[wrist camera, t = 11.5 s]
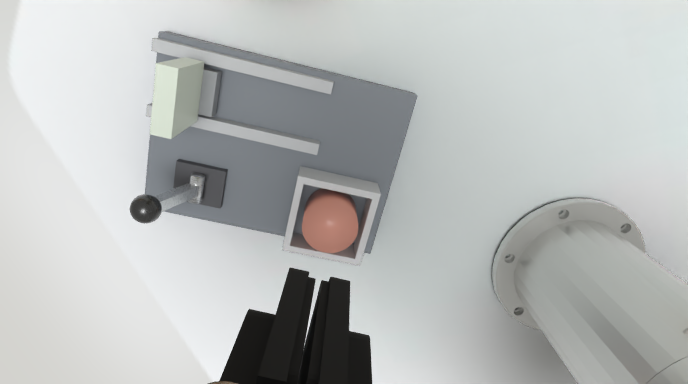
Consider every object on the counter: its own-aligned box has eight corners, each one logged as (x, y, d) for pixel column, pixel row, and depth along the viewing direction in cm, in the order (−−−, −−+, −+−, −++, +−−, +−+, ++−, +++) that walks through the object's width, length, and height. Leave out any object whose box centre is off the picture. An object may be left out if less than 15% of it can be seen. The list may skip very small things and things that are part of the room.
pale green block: (222, 63, 29) (195, 72, 23) (214, 120, 30) (187, 142, 25) (177, 52, 29) (138, 59, 23) (171, 110, 30) (133, 130, 24)
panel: (413, 92, 32) (423, 100, 28) (368, 244, 36) (372, 268, 33) (167, 31, 30) (144, 31, 26) (151, 199, 34) (130, 219, 31)
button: (361, 193, 33) (364, 208, 30) (349, 238, 34) (350, 257, 31) (310, 181, 32) (308, 196, 30) (299, 228, 34) (296, 246, 31)
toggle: (212, 177, 31) (148, 203, 25) (209, 202, 32) (146, 232, 26) (191, 170, 32) (123, 193, 26) (188, 194, 32) (122, 222, 26)
